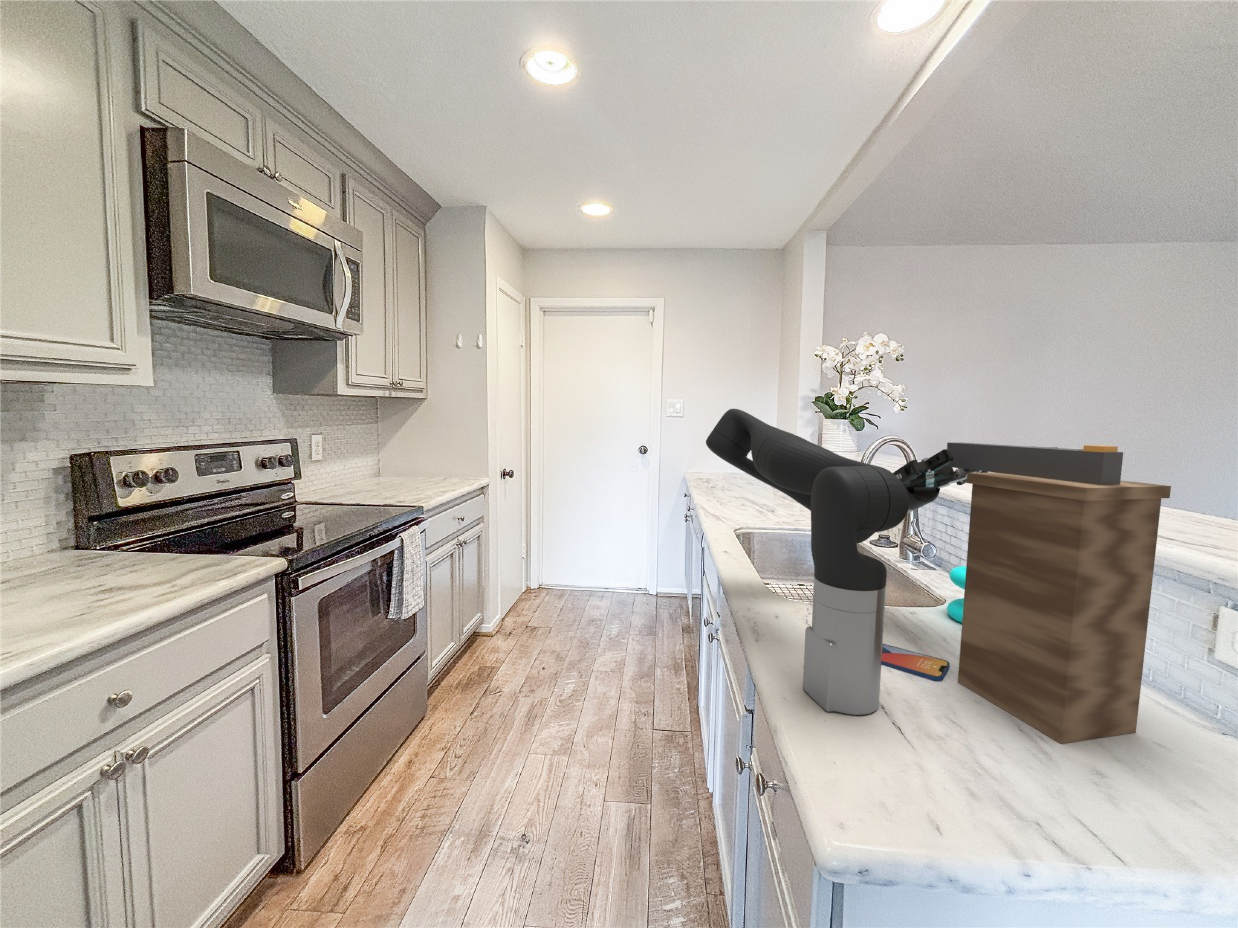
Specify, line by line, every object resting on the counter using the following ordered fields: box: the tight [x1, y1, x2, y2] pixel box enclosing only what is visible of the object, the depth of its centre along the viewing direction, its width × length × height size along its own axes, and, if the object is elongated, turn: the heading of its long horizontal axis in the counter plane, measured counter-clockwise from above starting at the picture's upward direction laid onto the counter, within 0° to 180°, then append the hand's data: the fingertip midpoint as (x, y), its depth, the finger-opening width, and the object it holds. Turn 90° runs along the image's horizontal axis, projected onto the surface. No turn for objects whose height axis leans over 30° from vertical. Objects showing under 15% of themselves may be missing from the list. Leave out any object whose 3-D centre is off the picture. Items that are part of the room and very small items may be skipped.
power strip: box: [946, 441, 1124, 485], centre depth 74 cm, size 3×23×5 cm, turn 12°
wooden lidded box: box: [957, 472, 1172, 745], centre depth 70 cm, size 13×16×32 cm
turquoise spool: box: [946, 565, 966, 624], centre depth 101 cm, size 10×10×10 cm
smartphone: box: [881, 643, 950, 683], centre depth 85 cm, size 7×15×1 cm, turn 47°
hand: (972, 454), depth 82 cm, fingers open, 8 cm apart
